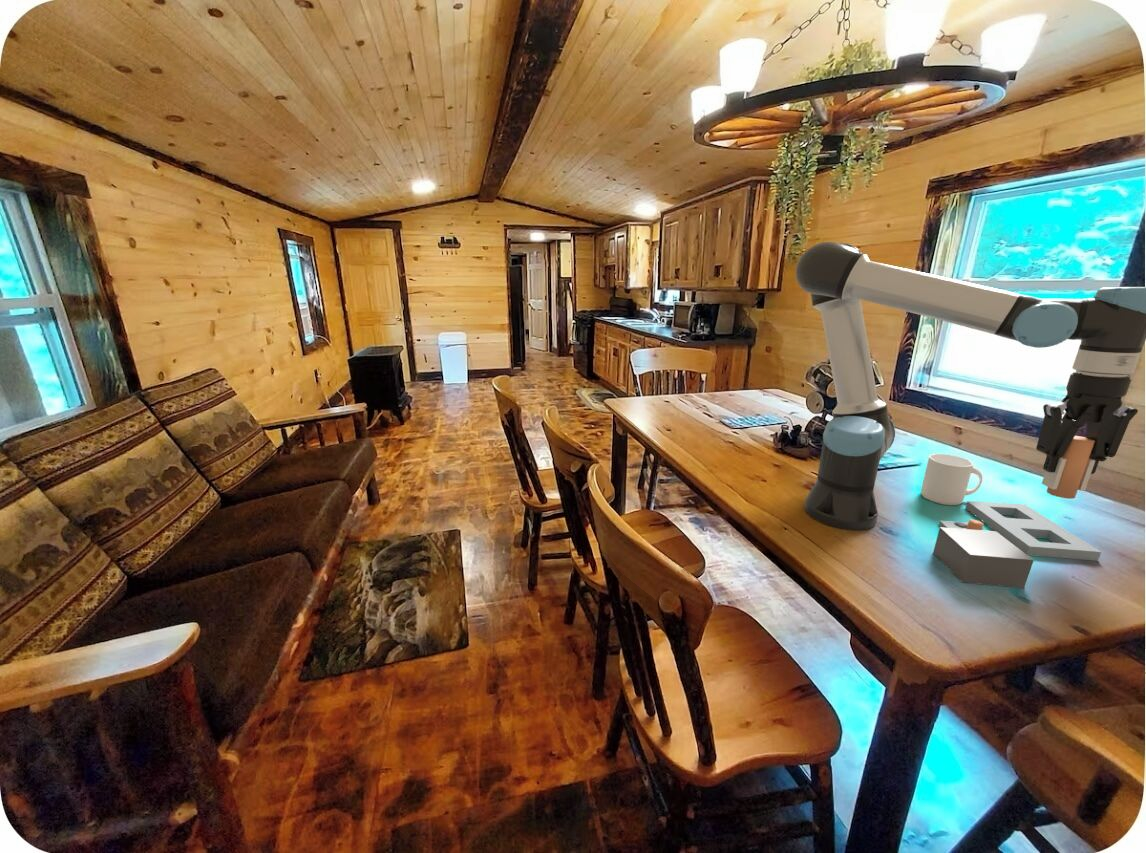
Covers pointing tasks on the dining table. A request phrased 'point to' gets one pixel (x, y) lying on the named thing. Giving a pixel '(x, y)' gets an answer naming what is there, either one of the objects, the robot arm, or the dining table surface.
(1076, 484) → the peg
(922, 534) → the dining table surface
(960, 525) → the board
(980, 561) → the cover
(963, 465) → the mug
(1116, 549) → the dining table surface
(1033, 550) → the socket board
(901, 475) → the dining table surface
